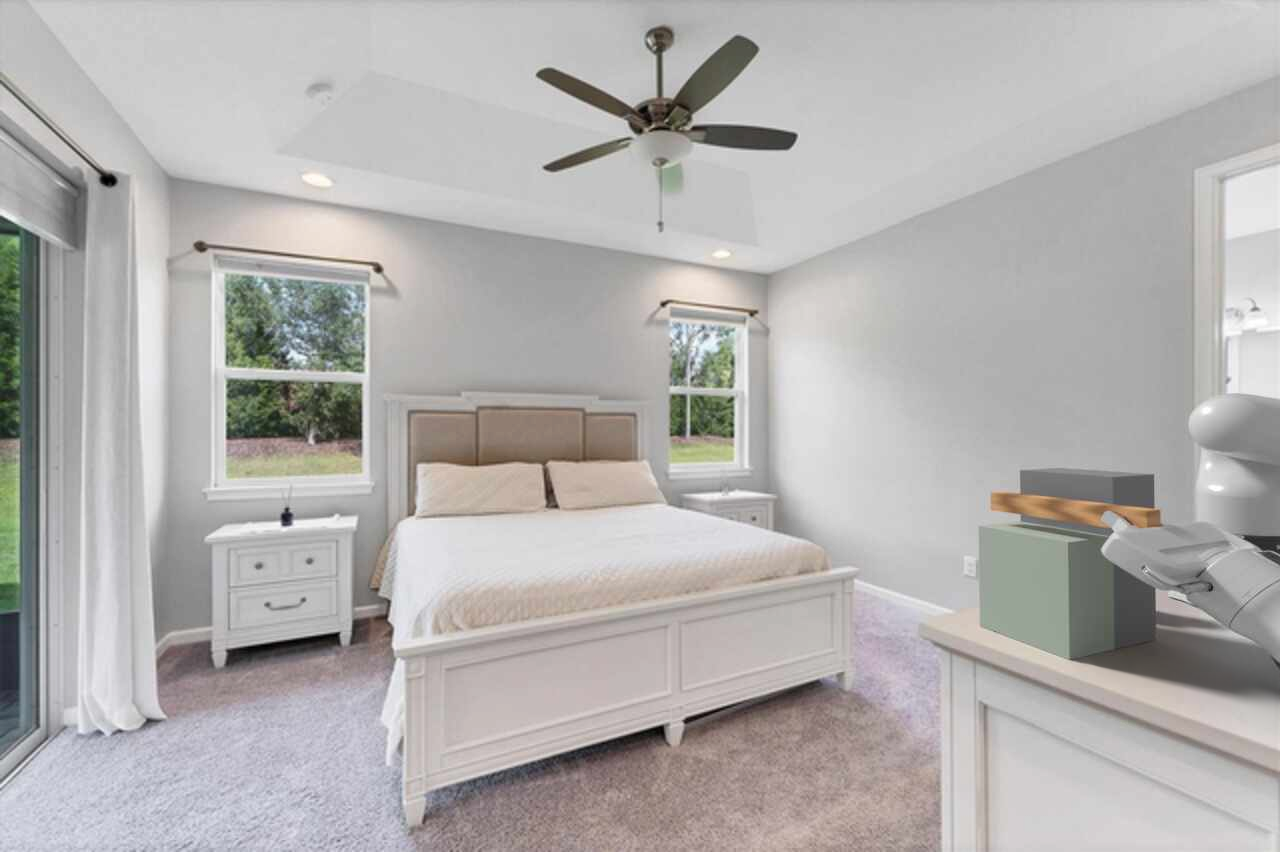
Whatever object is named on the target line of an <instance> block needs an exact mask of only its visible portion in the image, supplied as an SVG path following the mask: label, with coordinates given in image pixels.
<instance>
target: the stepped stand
mask: <svg viewBox="0 0 1280 852" xmlns="http://www.w3.org/2000/svg"><path fill="white" fill-rule="evenodd" d="M1019 482H1020V483H1019V486H1020V487H1019V488H1020V489H1019V491H1020V494H1029V495H1037V496H1046V497H1055V498H1063V499H1072V500H1081V501H1089V502H1098V503H1107V504H1116V505H1124V506H1133V507H1142V508H1150V509H1156V508H1155V474H1154V473H1141V472H1139V473H1138V472H1128V471H1127V472H1126V471H1125V472H1123V471H1110V470H1094V469H1083V468H1082V469H1081V468H1080V469H1079V468H1065V467H1054V468H1052V467H1051V468H1037V469H1036V468H1035V469H1020V470H1019ZM1112 533H1114V531H1113V529H1112V528H1106V527H1100V526H1093V525H1087V524H1080V523H1073V522H1067V521H1060V520H1054V519H1047V518H1041V517H1034V516H1027V515H1021V514H1020V521H1013V522H1003V523H1001V522H1000V523H995V524H994V523H992V524H982V525H978V565H979V566H978V571H979V574H978V575H979V577H978V578H979V579H978V584H979V585H978V586H979V592H978V593H979V627H981V628H984V627H985V628H984V629H986V628H987V630H989V629H990V630H989V631H992V630H993V631H992V632H994V631H996V632H995V633H997V632H998V633H997V634H1000V635H1002V634H1003V636H1005V635H1006V637H1008V638H1010V639H1014V640H1016V641H1018V642H1021V643H1024V644H1026V645H1028V646H1029V645H1030V646H1032V647H1034V648H1036V649H1040V650H1043V651H1045V652H1048V653H1051V654H1054V655H1055V656H1059V657H1060V658H1064V659H1067V660H1074V659H1078V658H1082V657H1087V656H1090V655H1096V654H1100V653H1104V652H1111V651H1113V650H1117V649H1122V648H1127V647H1130V646H1135V645H1138V644H1143V643H1148V642H1153V641H1156V640H1157V612H1156V609H1157V605H1156V601H1157V600H1156V596H1157V595H1156V590H1157V589H1156V588H1155V587H1153V586H1151V585H1149V584H1147V583H1145V582H1143V581H1141V580H1140V579H1138V578H1136V577H1135V576H1133V575H1131V574H1130V573H1128V572H1126V571H1125V570H1123V569H1122V568H1120V567H1119V566H1117V565H1115V564H1114V563H1112V562H1111V561H1109V560H1108V559H1107V558H1105V556H1104V555H1103V554H1102V552H1101V548H1102V547H1103V545H1104V544H1105V542H1106V541H1107V539H1108V538H1109V537H1110V536H1111V534H1112Z"/></svg>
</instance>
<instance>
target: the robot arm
mask: <svg viewBox="0 0 1280 852" xmlns="http://www.w3.org/2000/svg"><path fill="white" fill-rule="evenodd" d="M1187 428H1188V433H1189V435H1190V437H1191V438H1192V440H1193V441H1194V442H1195V443H1196V444H1197V445H1198V446H1200V447H1201V448H1200V449H1201V450H1200V458H1199V467H1198V472H1197V478H1196V482H1195V521H1193V522H1184V523H1175V524H1171V523H1169V522H1167V521H1165V520H1162V519H1161V526H1158V527H1150V528H1142V529H1140V528H1138V527H1137V526H1135V525H1131V524H1129V523H1128V522H1127V521H1126V520H1125V518H1126V517H1125V516H1123V515H1122V514H1119V513H1118V512H1117V511H1106V512H1105V513H1104V514H1103V515H1102V517H1101V521H1102V522H1103V523H1105V524H1107V525H1108V526H1110V527H1111V528H1112V529H1113V531H1114V533H1112V534H1111V536H1110V537H1109V538H1108V539H1107V541H1106V542H1105V544H1104V545H1103V547H1102V548H1101V552H1102V554H1103V555H1104V556H1105V558H1107V559H1108V560H1109V561H1111V562H1112V563H1114V564H1115V565H1117V566H1119V567H1120V568H1122V569H1123V570H1125V571H1126V572H1128V573H1130V574H1131V575H1133V576H1135V577H1136V578H1138V579H1140V580H1141V581H1143V582H1145V583H1147V584H1149V585H1151V586H1153V587H1155V589H1156V590H1157V589H1158V590H1160V591H1168V592H1167V596H1168V597H1169V598H1172V599H1173V598H1174V599H1177V600H1179V601H1184V602H1185V603H1187V604H1190V605H1192V606H1194V607H1196V608H1198V609H1199V610H1201V611H1202V612H1204V613H1205V614H1207V615H1208V616H1209V617H1211V618H1213V619H1214V620H1216V621H1217V622H1218V623H1220V624H1222V625H1223V626H1224V627H1226V628H1228V629H1229V630H1230V631H1232V632H1233V633H1235V634H1237V635H1239V636H1241V637H1245V638H1247V639H1249V640H1251V641H1253V642H1254V643H1256V644H1257V645H1258V646H1260V647H1261V648H1263V649H1264V650H1265V652H1267V653H1268V654H1269V655H1270V657H1271V660H1272V661H1273V662H1274V664H1275V666H1277V668H1278V669H1279V670H1280V398H1277V397H1267V396H1262V395H1258V394H1257V395H1256V394H1251V393H1250V394H1249V393H1238V392H1237V393H1236V392H1231V393H1223V394H1218V395H1215V396H1212V397H1210V398H1207V399H1205V400H1203V401H1201V402H1200V403H1199V404H1198V405H1197V406H1196V407H1195V408H1194V409H1193V410H1192V411H1191V413H1190V415H1189V418H1188V420H1187Z"/></svg>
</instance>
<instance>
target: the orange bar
mask: <svg viewBox="0 0 1280 852" xmlns="http://www.w3.org/2000/svg"><path fill="white" fill-rule="evenodd" d="M990 511H993V512H994V511H995V512H1003V513H1009V514H1015V515H1020V516H1021V515H1027V516H1034V517H1041V518H1047V519H1054V520H1060V521H1067V522H1073V523H1080V524H1087V525H1093V526H1100V527H1106V528H1111V527H1110V526H1108V525H1107V524H1105V523H1103V522H1102V521H1101V517H1102V515H1103V514H1104V513H1105V512H1106V511H1117V512H1118V513H1119V514H1122V515H1123V516H1125V517H1126V518H1125V520H1126V521H1127V522H1128V523H1129V524H1131V525H1135V526H1137V527H1138V528H1140V529H1142V528H1150V527H1158V526H1161V520H1162V519H1161V509H1158V508H1155V509H1150V508H1142V507H1133V506H1124V505H1116V504H1107V503H1098V502H1089V501H1081V500H1072V499H1063V498H1055V497H1046V496H1037V495H1029V494H1020V493H1019V492H1012V491H1011V492H1010V491H993V492H990Z"/></svg>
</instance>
